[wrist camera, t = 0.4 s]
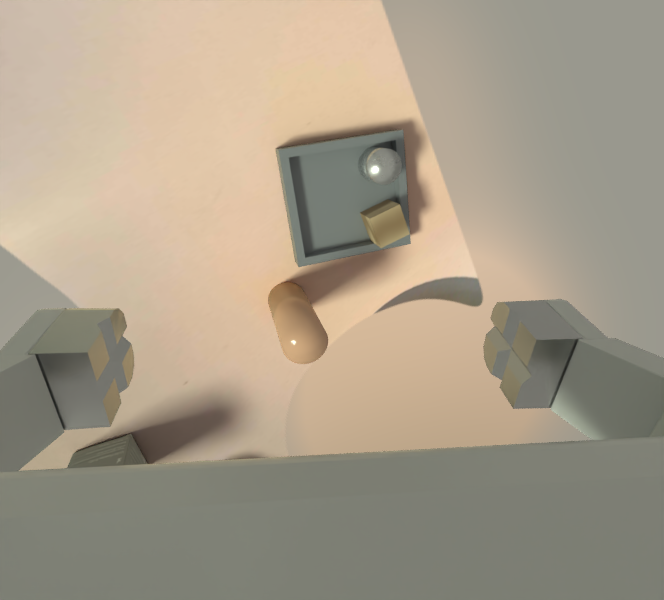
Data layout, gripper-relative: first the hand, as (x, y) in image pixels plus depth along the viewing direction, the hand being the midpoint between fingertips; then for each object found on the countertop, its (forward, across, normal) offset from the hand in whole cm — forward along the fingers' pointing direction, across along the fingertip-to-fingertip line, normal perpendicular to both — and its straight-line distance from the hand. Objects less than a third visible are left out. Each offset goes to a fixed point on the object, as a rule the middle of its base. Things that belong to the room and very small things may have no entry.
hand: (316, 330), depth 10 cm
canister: (+43, 0, +24) cm, 49 cm away
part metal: (+46, -10, +7) cm, 48 cm away
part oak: (+45, -11, +14) cm, 48 cm away
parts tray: (+46, -7, +11) cm, 48 cm away
